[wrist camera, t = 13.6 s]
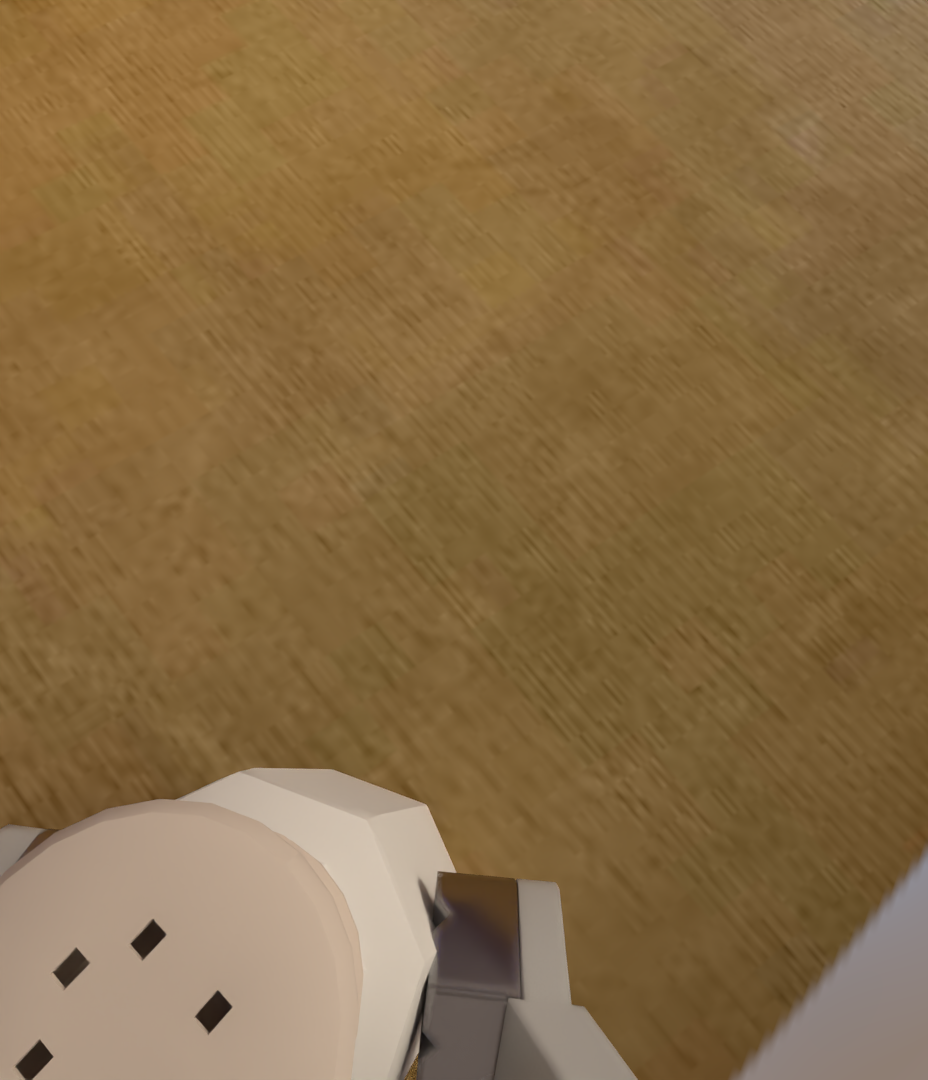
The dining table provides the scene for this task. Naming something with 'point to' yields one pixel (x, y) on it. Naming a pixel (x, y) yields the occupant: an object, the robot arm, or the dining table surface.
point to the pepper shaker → (224, 936)
